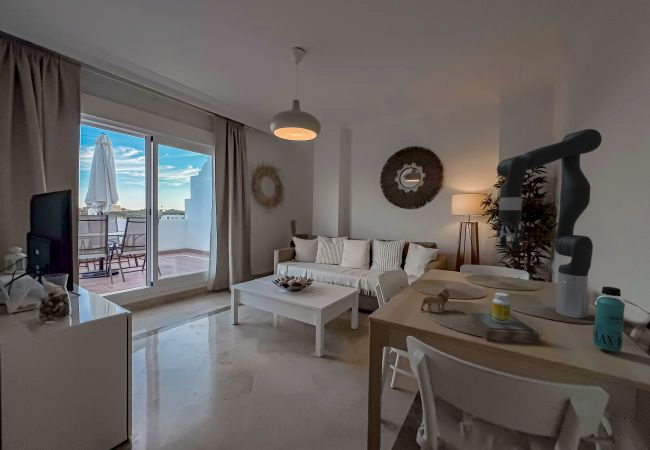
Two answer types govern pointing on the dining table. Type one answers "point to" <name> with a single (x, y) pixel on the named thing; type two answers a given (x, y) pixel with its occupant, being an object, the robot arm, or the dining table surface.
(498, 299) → the supplement bottle
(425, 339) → the dining table surface
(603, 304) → the beverage bottle
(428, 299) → the lion figurine
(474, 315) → the wooden framed mirror
